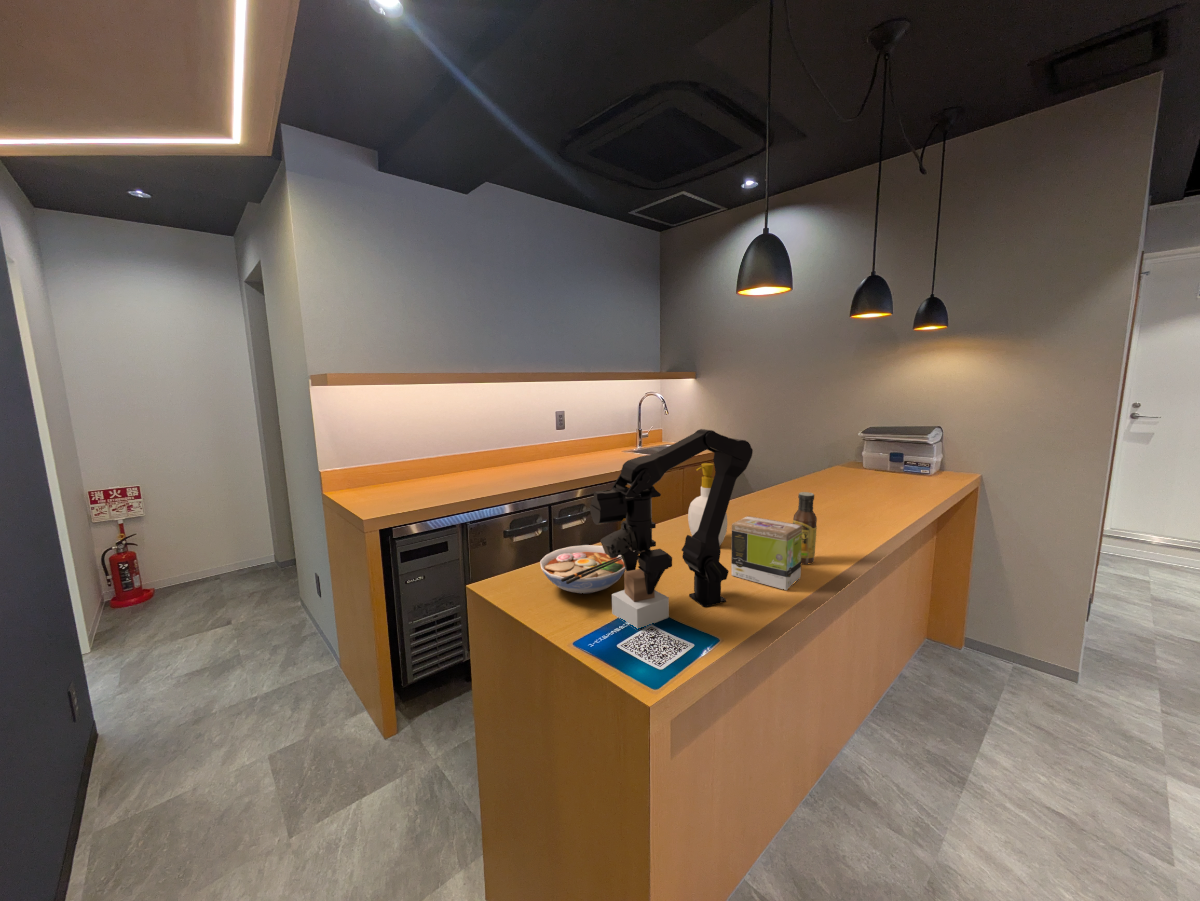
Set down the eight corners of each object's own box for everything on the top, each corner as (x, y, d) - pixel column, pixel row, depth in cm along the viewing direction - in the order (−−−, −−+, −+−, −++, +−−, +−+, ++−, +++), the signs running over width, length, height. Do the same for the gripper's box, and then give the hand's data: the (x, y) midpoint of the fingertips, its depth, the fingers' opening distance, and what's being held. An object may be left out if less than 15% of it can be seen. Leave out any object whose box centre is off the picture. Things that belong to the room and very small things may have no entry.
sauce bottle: (785, 559, 135) (788, 492, 132) (800, 555, 138) (803, 489, 135) (805, 567, 129) (807, 497, 126) (820, 562, 132) (822, 493, 129)
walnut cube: (654, 597, 103) (654, 576, 103) (634, 602, 102) (633, 580, 101) (644, 588, 108) (644, 568, 107) (624, 592, 106) (624, 571, 105)
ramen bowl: (590, 562, 137) (589, 535, 136) (651, 584, 121) (651, 554, 120) (519, 590, 120) (517, 559, 119) (579, 621, 103) (578, 586, 102)
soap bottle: (679, 541, 153) (679, 462, 149) (698, 535, 158) (698, 459, 154) (714, 553, 141) (715, 468, 137) (733, 546, 146) (734, 464, 143)
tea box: (801, 579, 122) (803, 524, 120) (786, 592, 115) (788, 534, 113) (747, 564, 132) (747, 514, 130) (729, 576, 125) (730, 522, 123)
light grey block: (668, 618, 104) (668, 597, 103) (637, 631, 99) (637, 609, 98) (642, 603, 111) (642, 583, 111) (612, 614, 106) (611, 594, 106)
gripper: (588, 512, 108) (590, 576, 110) (623, 535, 90) (625, 611, 93) (632, 506, 112) (633, 568, 114) (673, 527, 95) (673, 600, 97)
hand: (639, 585), depth 104 cm, fingers open, 9 cm apart
